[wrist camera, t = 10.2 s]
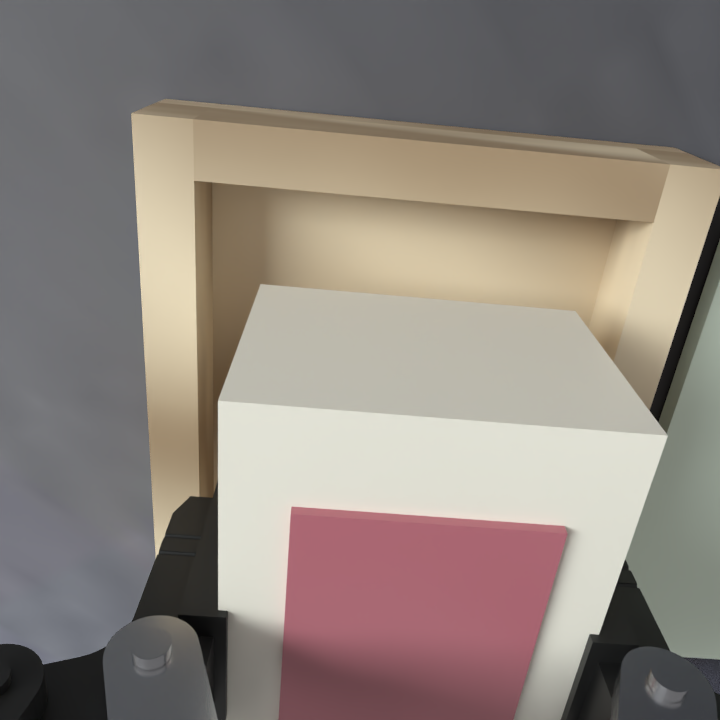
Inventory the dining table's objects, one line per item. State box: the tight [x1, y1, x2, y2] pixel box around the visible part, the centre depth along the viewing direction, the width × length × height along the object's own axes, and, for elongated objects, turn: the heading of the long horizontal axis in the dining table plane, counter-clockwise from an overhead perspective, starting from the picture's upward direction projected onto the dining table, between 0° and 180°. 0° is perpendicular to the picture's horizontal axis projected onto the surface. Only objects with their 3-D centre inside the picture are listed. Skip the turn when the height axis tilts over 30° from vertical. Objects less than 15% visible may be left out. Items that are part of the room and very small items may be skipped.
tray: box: [131, 99, 720, 557], centre depth 15 cm, size 14×10×2 cm
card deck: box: [218, 284, 668, 720], centre depth 12 cm, size 9×6×4 cm, turn 174°
